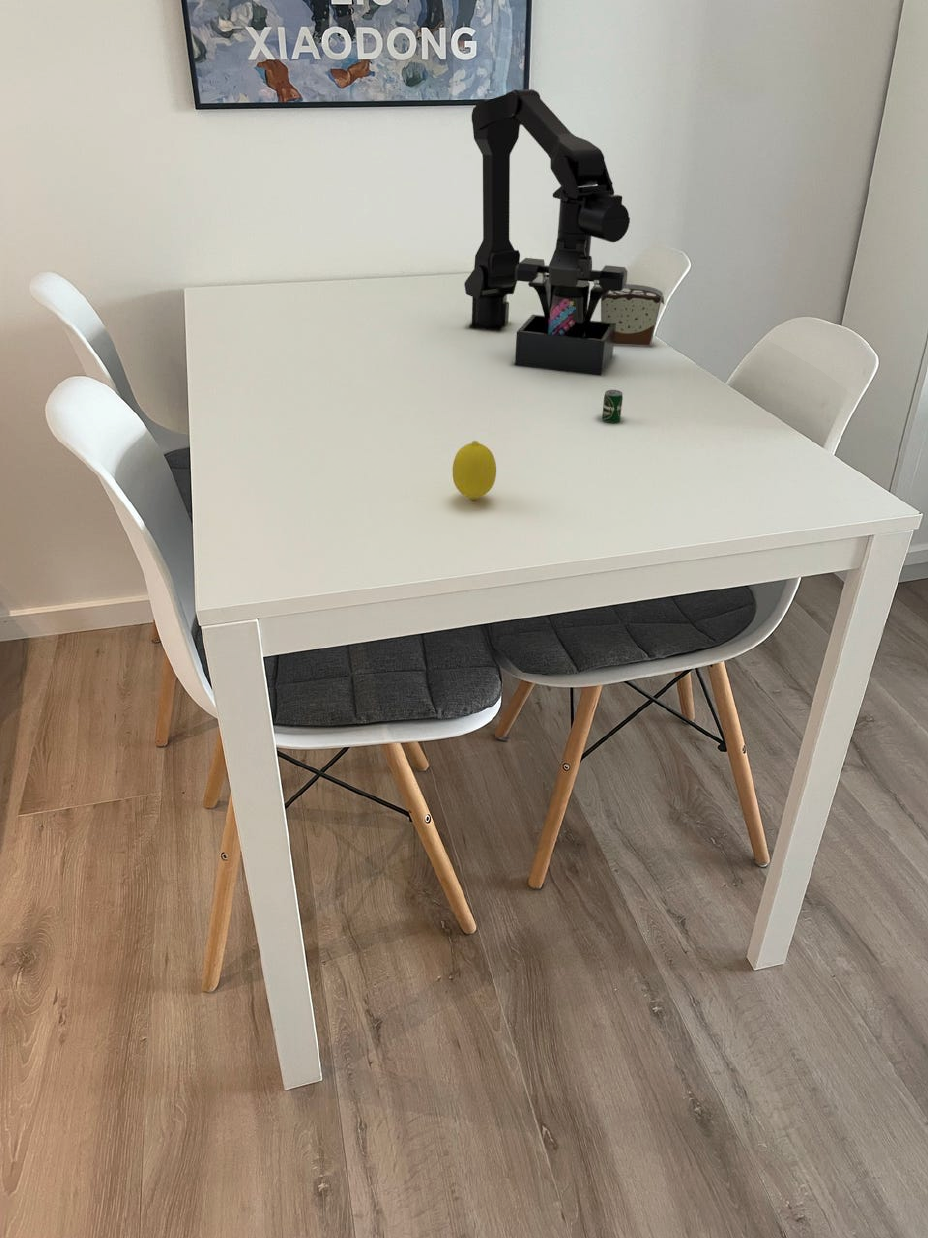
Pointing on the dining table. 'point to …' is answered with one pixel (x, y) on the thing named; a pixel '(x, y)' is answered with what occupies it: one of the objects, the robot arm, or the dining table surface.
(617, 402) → the beer can
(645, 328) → the food container
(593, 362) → the basin
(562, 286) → the supplement container
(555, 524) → the dining table surface
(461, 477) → the lemon
